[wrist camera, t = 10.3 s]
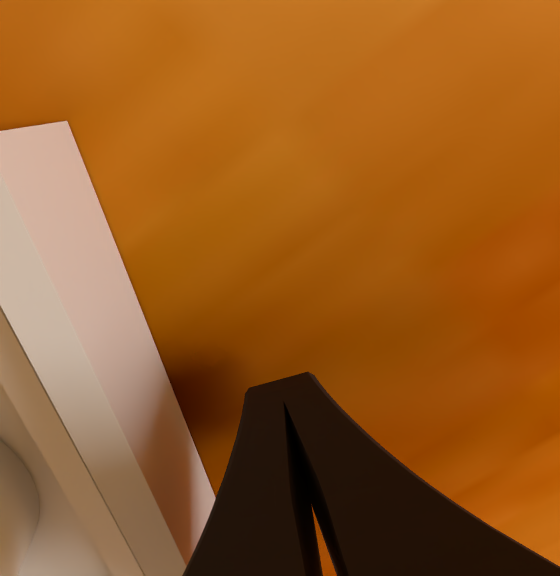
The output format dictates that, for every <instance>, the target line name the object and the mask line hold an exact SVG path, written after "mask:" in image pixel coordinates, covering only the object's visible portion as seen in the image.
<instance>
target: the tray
mask: <svg viewBox="0 0 560 576" xmlns="http://www.w3.org/2000/svg"><path fill="white" fill-rule="evenodd" d="M0 440H1V441H2V442H3V443H4V444H5V445H6V446H8V447H9V448H10V449H11V450H12V451H13V452H14V453H15V455H16V456H17V457H18V458H19V459H20V460H21V461H22V463H23V464H24V466H25V467H26V469H27V470H28V472H29V473H30V475H31V478H32V480H33V482H34V484H35V487H36V490H37V494H38V498H39V509H40V510H39V519H38V524H37V527H36V530H35V533H34V536H33V538H32V541H31V543H30V546H29V548H28V550H27V553H26V555H25V558H24V560H23V563H22V565H21V568H20V570H19V573H18V575H17V576H182V575H183V573H184V571H185V569H186V567H187V565H188V563H189V561H190V558H191V556H192V554H193V552H194V550H195V548H196V545H197V543H198V541H199V539H200V536H201V534H202V532H203V529H204V527H205V525H206V522H207V520H208V518H209V515H210V512H211V510H212V507H213V505H214V502H215V499H216V498H215V495H214V493H213V490H212V488H211V485H210V483H209V480H208V478H207V475H206V473H205V470H204V468H203V465H202V462H201V460H200V457H199V455H198V452H197V450H196V447H195V445H194V442H193V440H192V437H191V434H190V432H189V429H188V427H187V424H186V422H185V419H184V417H183V414H182V412H181V409H180V407H179V404H178V401H177V399H176V396H175V394H174V391H173V389H172V386H171V384H170V381H169V379H168V376H167V374H166V371H165V368H164V366H163V363H162V361H161V358H160V356H159V353H158V351H157V348H156V346H155V343H154V340H153V338H152V335H151V333H150V330H149V328H148V325H147V323H146V320H145V318H144V315H143V313H142V310H141V307H140V305H139V302H138V300H137V297H136V295H135V292H134V290H133V287H132V285H131V282H130V280H129V277H128V274H127V272H126V269H125V267H124V264H123V262H122V259H121V257H120V254H119V252H118V249H117V247H116V244H115V241H114V239H113V236H112V234H111V231H110V229H109V226H108V224H107V221H106V219H105V216H104V213H103V211H102V208H101V206H100V203H99V201H98V198H97V196H96V193H95V191H94V188H93V186H92V183H91V180H90V178H89V175H88V173H87V170H86V168H85V165H84V163H83V160H82V158H81V155H80V153H79V150H78V147H77V145H76V142H75V140H74V137H73V135H72V132H71V130H70V127H69V125H68V122H67V121H63V122H56V123H50V124H43V125H37V126H30V127H24V128H17V129H11V130H4V131H0Z"/></svg>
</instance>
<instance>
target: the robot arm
mask: <svg viewBox="0 0 560 576" xmlns="http://www.w3.org/2000/svg"><path fill="white" fill-rule="evenodd" d="M311 504H312V505H311ZM312 507H313V510H314V513H315V515H316V518H317V521H318V524H319V527H320V529H321V532H322V535H323V538H324V540H325V543H326V546H327V549H328V552H329V554H330V557H331V560H332V563H333V565H334V568H335V571H336V574H337V576H560V567H559V566H558V565H556V564H554V563H552V562H551V561H549V560H547V559H546V558H544V557H542V556H541V555H539V554H537V553H535V552H534V551H532V550H530V549H529V548H527V547H525V546H524V545H522V544H520V543H518V542H517V541H515V540H513V539H512V538H510V537H508V536H507V535H505V534H503V533H501V532H500V531H498V530H496V529H495V528H493V527H491V526H490V525H488V524H487V523H485V522H484V521H482V520H481V519H479V518H477V517H476V516H474V515H473V514H471V513H470V512H468V511H467V510H465V509H464V508H462V507H461V506H459V505H458V504H456V503H455V502H453V501H452V500H451V499H449V498H448V497H446V496H445V495H444V494H442V493H441V492H439V491H438V490H436V489H435V488H434V487H432V486H431V485H429V484H428V483H427V482H425V481H424V480H423V479H421V478H420V477H419V476H418V475H416V474H415V473H414V472H412V471H411V470H410V469H409V468H407V467H406V466H405V465H403V464H402V463H401V462H400V461H399V460H397V459H396V458H395V457H394V456H393V455H391V454H390V453H389V452H388V451H387V450H385V449H384V448H383V447H382V446H381V445H380V444H379V443H377V442H376V441H375V440H374V439H373V438H372V437H371V436H370V435H369V434H367V433H366V432H365V431H364V430H363V429H362V428H361V427H360V426H359V425H358V424H357V423H356V422H355V421H354V420H353V419H352V418H351V417H350V416H349V415H348V414H347V413H346V412H345V411H344V410H343V409H342V408H341V407H340V406H339V405H338V404H337V403H336V402H335V401H334V400H333V398H332V397H331V396H330V395H329V394H328V393H327V392H326V390H325V389H324V388H323V387H322V385H321V384H320V383H319V381H318V380H317V379H316V377H315V376H314V375H313V374H311V373H309V372H305V373H302V374H298V375H294V376H291V377H287V378H283V379H280V380H276V381H272V382H269V383H265V384H262V385H258V386H254V387H251V388H249V389H248V390H247V392H246V393H245V399H244V405H243V411H242V416H241V420H240V424H239V428H238V432H237V436H236V440H235V443H234V446H233V450H232V453H231V456H230V459H229V463H228V466H227V469H226V472H225V475H224V478H223V481H222V483H221V486H220V489H219V491H218V494H217V497H216V499H215V502H214V505H213V507H212V510H211V512H210V515H209V518H208V520H207V522H206V525H205V527H204V529H203V532H202V534H201V536H200V539H199V541H198V543H197V545H196V548H195V550H194V552H193V554H192V556H191V558H190V561H189V563H188V565H187V567H186V569H185V571H184V573H183V575H182V576H323V574H322V567H321V561H320V555H319V549H318V542H317V536H316V530H315V524H314V518H313V512H312Z"/></svg>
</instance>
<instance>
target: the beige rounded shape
mask: <svg viewBox="0 0 560 576" xmlns="http://www.w3.org/2000/svg"><path fill="white" fill-rule="evenodd" d="M39 510H40V509H39V498H38V494H37V490H36V487H35V484H34V482H33V480H32V478H31V475H30V473H29V472H28V470H27V469H26V467H25V466H24V464H23V463H22V461H21V460H20V459H19V458H18V457H17V456H16V455H15V453H14V452H13V451H12V450H11V449H10V448H9V447H8V446H6V445H5V444H4V443H3V442H2V441H1V440H0V576H17V575H18V573H19V570H20V568H21V565H22V563H23V560H24V558H25V555H26V553H27V550H28V548H29V546H30V543H31V541H32V538H33V536H34V533H35V530H36V527H37V524H38V519H39Z"/></svg>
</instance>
